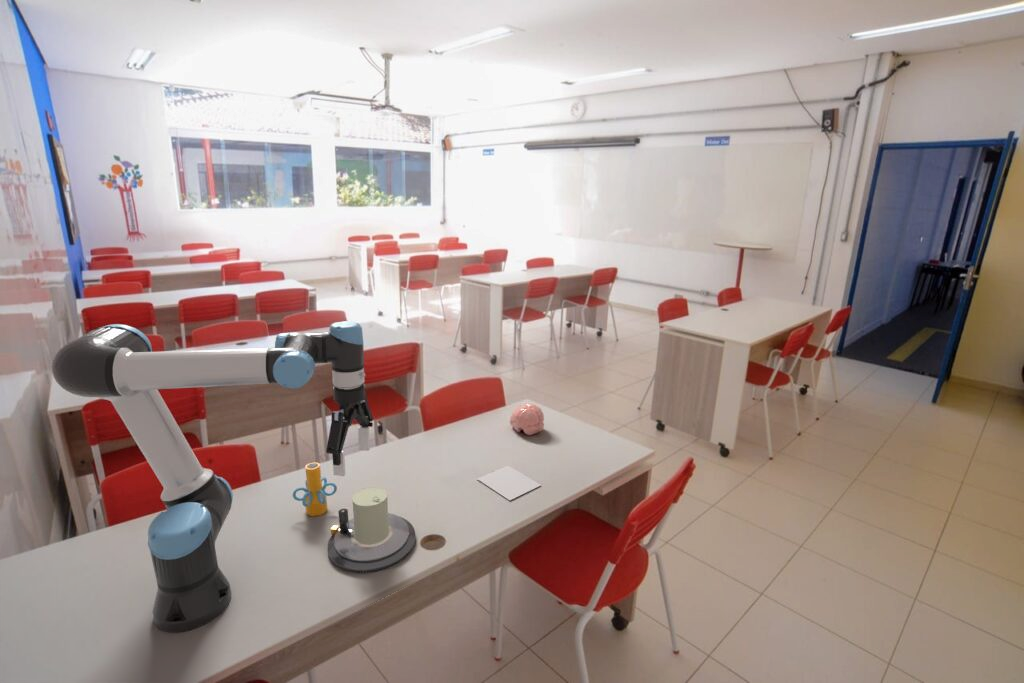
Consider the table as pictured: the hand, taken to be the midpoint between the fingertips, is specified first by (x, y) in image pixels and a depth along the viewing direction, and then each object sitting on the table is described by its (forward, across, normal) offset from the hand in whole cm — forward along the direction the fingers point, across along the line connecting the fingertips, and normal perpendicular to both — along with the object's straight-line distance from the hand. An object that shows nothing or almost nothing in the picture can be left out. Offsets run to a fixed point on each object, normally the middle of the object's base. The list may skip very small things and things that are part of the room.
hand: (352, 461), depth 132 cm
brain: (+24, +81, -34) cm, 91 cm away
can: (+22, +2, -4) cm, 22 cm away
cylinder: (+26, +12, +19) cm, 34 cm away
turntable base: (+25, +2, -4) cm, 25 cm away
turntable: (+23, +1, -4) cm, 24 cm away
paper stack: (+25, +38, -28) cm, 54 cm away
